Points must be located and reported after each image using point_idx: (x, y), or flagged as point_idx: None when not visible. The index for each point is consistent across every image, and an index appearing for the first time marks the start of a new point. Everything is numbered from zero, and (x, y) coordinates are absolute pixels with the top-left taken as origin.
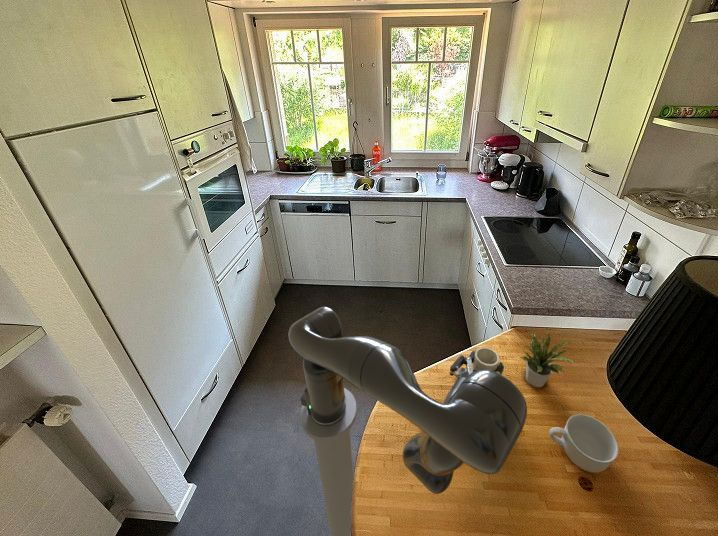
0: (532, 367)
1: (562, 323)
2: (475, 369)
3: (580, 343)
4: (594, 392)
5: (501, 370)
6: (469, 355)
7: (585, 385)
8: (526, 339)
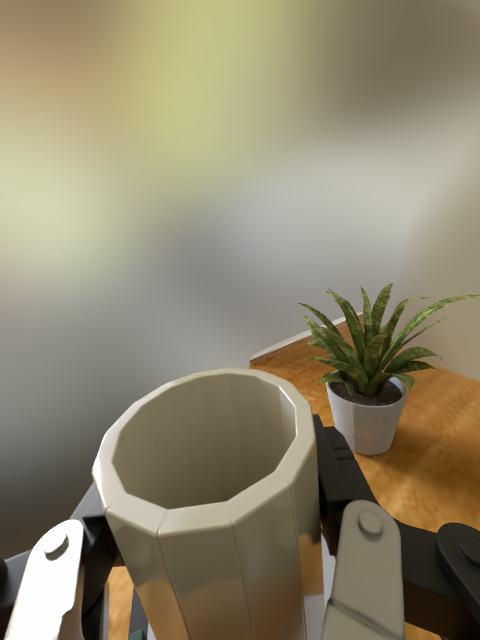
0: (354, 399)
1: (307, 331)
2: (153, 621)
3: (350, 339)
4: (463, 389)
5: (354, 468)
6: (82, 500)
7: (437, 386)
8: (279, 370)
